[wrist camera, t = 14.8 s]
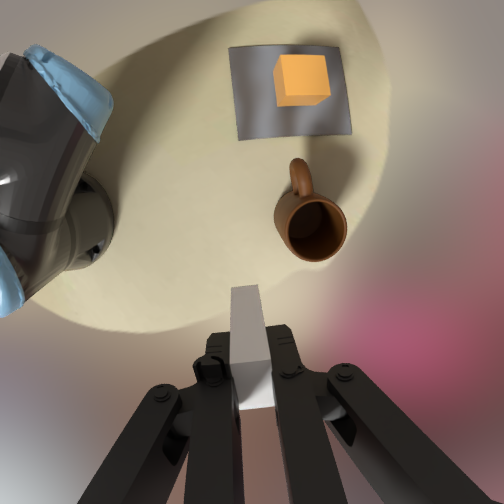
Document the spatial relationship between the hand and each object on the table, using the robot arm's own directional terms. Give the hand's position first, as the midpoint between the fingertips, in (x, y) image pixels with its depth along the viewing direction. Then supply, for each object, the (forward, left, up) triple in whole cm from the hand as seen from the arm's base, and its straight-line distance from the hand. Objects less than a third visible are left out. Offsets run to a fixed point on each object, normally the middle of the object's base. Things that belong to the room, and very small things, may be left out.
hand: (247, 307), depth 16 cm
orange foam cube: (+9, +18, -23) cm, 30 cm away
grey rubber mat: (+9, +18, -24) cm, 32 cm away
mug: (+8, +2, -25) cm, 26 cm away
